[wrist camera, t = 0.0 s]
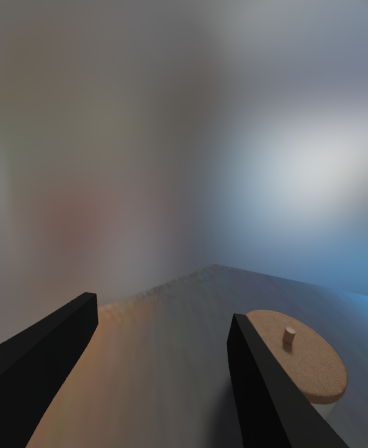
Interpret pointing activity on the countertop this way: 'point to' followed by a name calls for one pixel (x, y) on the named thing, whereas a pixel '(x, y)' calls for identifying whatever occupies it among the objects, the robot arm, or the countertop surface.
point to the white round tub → (303, 358)
